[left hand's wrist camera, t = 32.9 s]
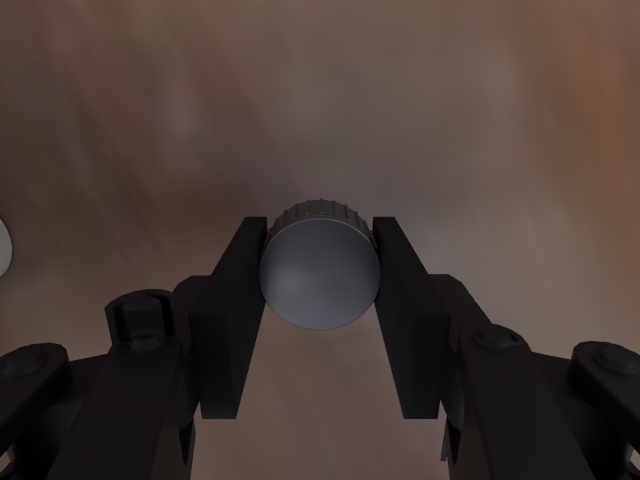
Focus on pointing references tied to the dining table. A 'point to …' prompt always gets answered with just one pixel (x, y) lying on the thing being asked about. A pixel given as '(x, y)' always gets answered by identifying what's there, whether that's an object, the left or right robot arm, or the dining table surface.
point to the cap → (319, 265)
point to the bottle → (4, 249)
